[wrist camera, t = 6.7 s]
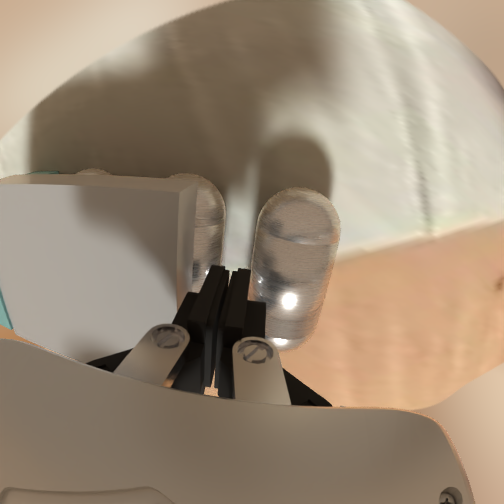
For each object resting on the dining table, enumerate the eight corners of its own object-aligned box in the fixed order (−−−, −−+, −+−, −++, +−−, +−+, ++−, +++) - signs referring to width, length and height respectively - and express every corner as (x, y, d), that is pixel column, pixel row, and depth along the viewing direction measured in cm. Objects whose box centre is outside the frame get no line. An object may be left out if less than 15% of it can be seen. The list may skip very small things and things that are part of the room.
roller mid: (162, 166, 15) (130, 176, 11) (234, 172, 15) (223, 183, 11) (161, 306, 18) (139, 344, 14) (220, 316, 18) (209, 359, 14)
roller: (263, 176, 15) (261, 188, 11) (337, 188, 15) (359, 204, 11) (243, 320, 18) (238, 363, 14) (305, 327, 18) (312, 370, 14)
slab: (198, 181, 11) (179, 192, 9) (191, 355, 14) (180, 389, 12) (14, 174, 11) (-18, 184, 9) (36, 313, 14) (15, 334, 12)
